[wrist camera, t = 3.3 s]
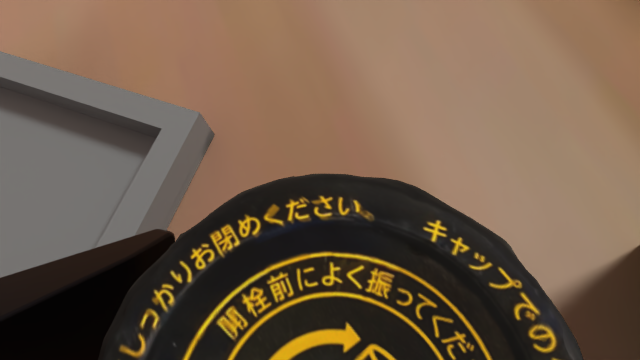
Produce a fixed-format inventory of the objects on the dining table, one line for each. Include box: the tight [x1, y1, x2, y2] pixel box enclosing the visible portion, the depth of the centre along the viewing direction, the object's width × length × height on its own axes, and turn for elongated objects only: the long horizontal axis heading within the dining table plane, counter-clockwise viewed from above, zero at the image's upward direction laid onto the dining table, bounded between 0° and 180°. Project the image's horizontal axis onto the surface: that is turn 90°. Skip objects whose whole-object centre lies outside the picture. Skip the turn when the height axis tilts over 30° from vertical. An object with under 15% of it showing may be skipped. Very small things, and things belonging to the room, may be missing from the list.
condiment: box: [98, 174, 583, 360], centre depth 9 cm, size 7×8×12 cm
